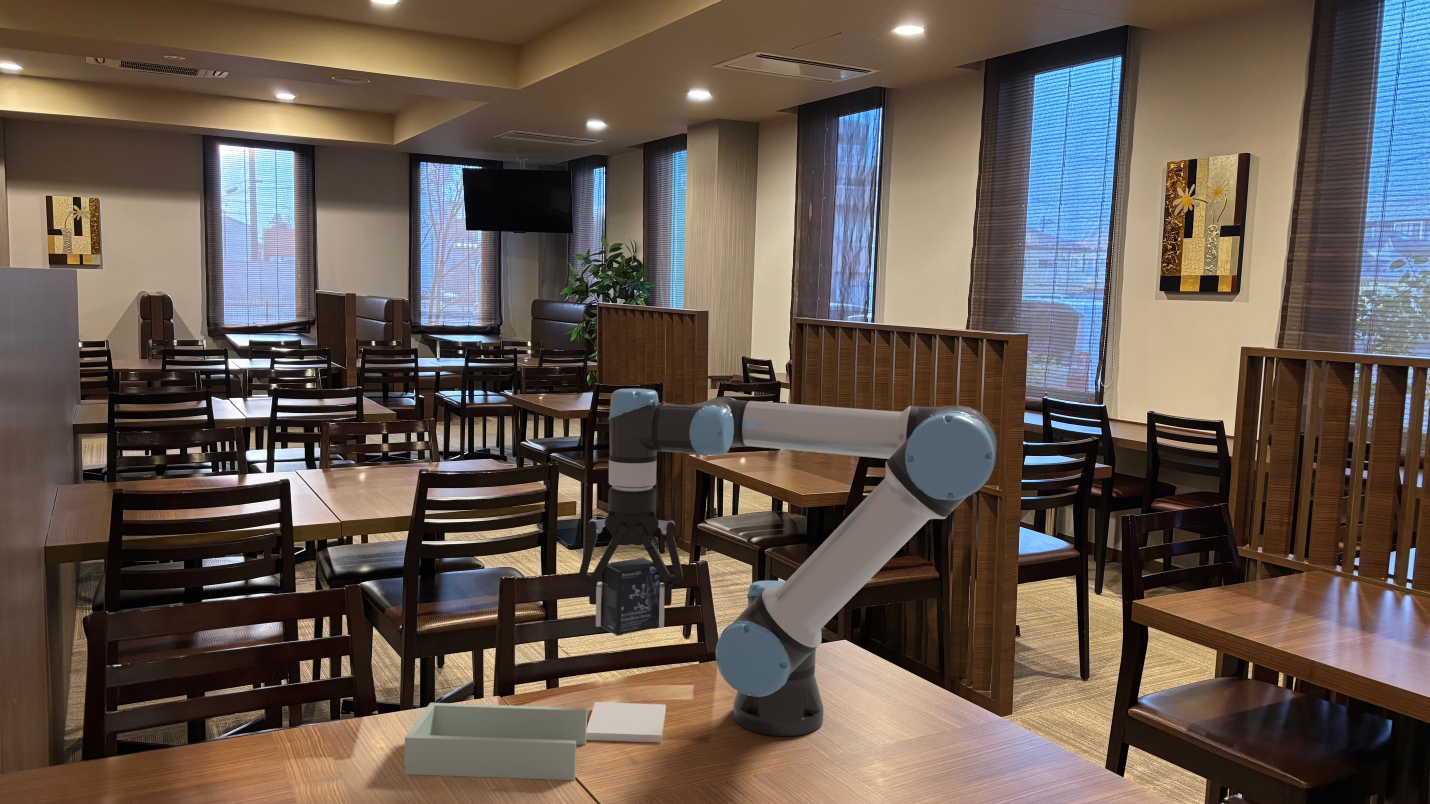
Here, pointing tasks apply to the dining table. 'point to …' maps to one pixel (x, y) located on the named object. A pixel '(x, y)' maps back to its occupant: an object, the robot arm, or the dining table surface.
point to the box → (630, 596)
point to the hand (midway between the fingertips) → (630, 624)
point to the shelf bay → (496, 741)
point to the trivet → (626, 722)
